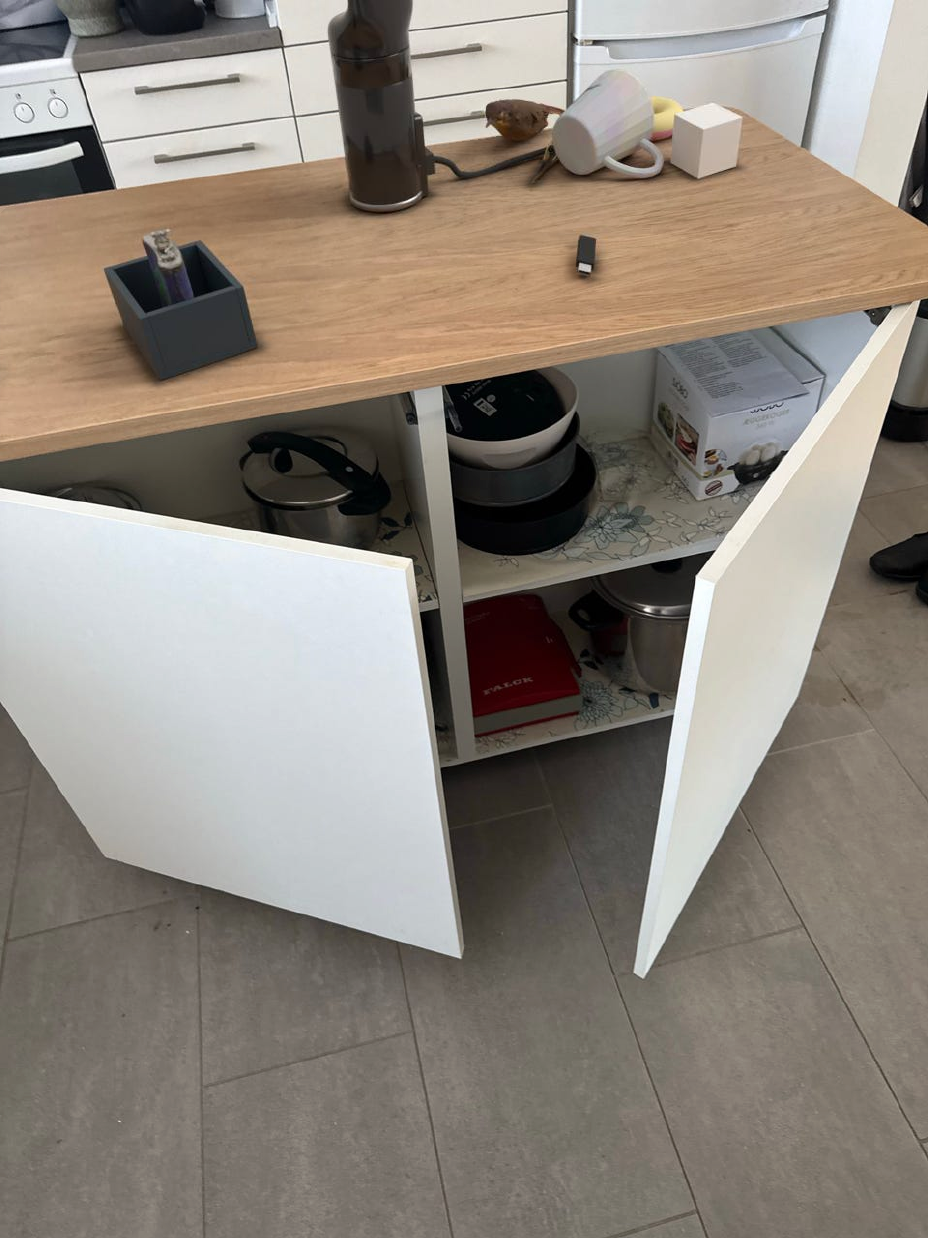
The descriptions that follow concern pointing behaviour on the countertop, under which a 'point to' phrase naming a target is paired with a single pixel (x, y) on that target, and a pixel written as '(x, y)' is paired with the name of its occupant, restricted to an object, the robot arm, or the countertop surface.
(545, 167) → the brown clothespin
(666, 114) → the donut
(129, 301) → the box
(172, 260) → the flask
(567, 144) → the mug
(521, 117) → the bird sculpture
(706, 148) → the white cube
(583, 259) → the usb flash drive
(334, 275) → the countertop surface
